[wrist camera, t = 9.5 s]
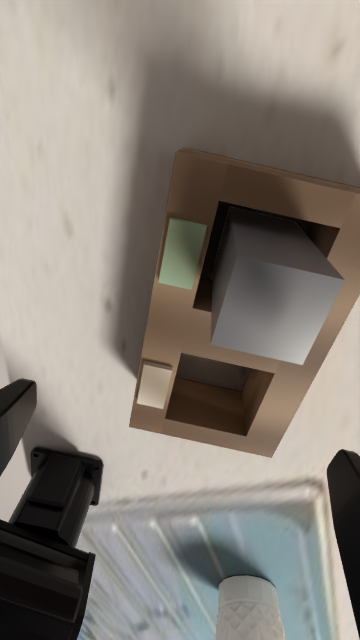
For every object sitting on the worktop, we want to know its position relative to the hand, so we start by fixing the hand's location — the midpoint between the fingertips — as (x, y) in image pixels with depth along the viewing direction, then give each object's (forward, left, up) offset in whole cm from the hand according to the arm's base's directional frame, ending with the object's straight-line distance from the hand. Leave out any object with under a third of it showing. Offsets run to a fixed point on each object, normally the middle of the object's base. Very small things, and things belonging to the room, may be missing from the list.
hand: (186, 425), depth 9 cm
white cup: (-38, -14, -12) cm, 42 cm away
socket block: (-2, -2, -12) cm, 12 cm away
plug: (+2, -2, -12) cm, 12 cm away
